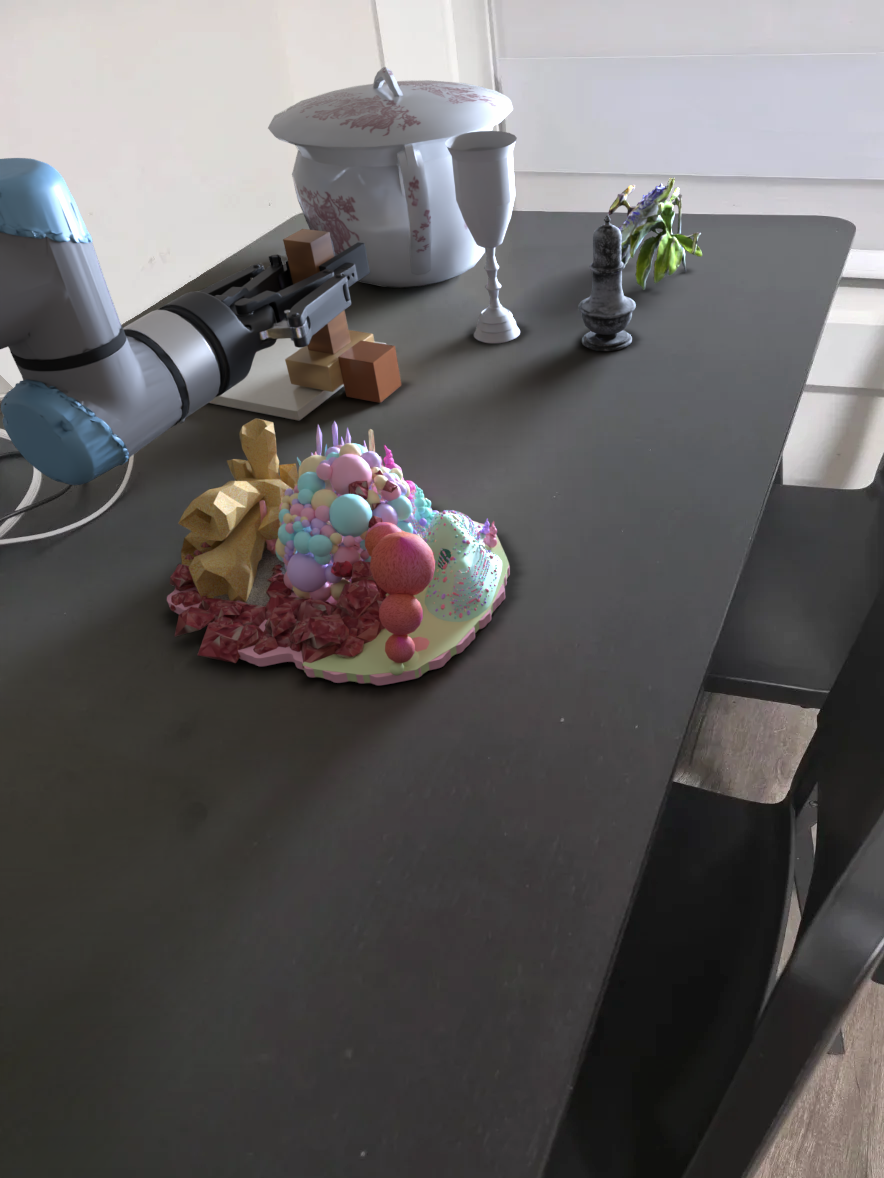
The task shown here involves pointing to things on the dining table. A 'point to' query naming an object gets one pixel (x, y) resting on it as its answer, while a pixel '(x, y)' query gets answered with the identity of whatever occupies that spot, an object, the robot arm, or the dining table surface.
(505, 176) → the chalice
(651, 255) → the passion flower
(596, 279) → the salt shaker
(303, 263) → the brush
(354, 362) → the clay cube
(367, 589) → the pastel sphere sculpture
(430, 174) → the chamber pot
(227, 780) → the dining table surface
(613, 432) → the dining table surface
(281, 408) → the tile
